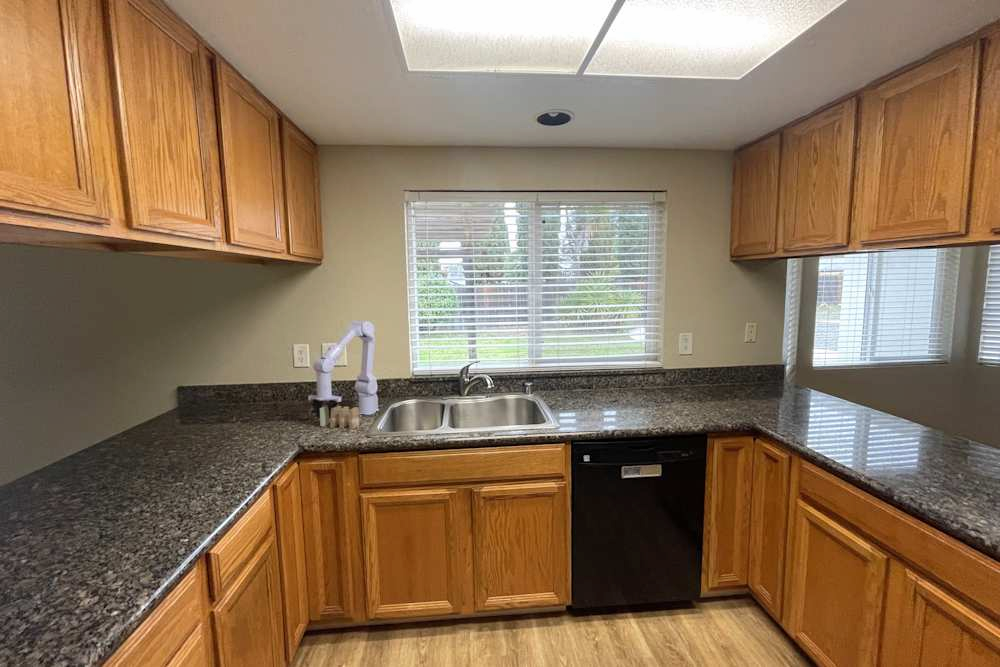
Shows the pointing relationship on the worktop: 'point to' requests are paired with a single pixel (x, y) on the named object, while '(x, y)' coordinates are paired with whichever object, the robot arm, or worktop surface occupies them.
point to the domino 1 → (324, 416)
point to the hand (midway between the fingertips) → (325, 417)
